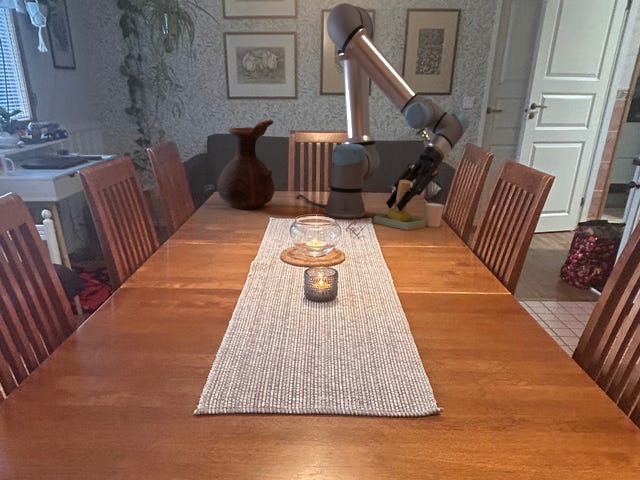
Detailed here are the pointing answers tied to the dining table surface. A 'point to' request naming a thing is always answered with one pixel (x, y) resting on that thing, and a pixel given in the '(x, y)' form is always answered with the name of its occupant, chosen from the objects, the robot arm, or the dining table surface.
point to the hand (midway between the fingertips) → (393, 206)
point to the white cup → (433, 214)
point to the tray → (400, 222)
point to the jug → (246, 172)
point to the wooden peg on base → (395, 212)
